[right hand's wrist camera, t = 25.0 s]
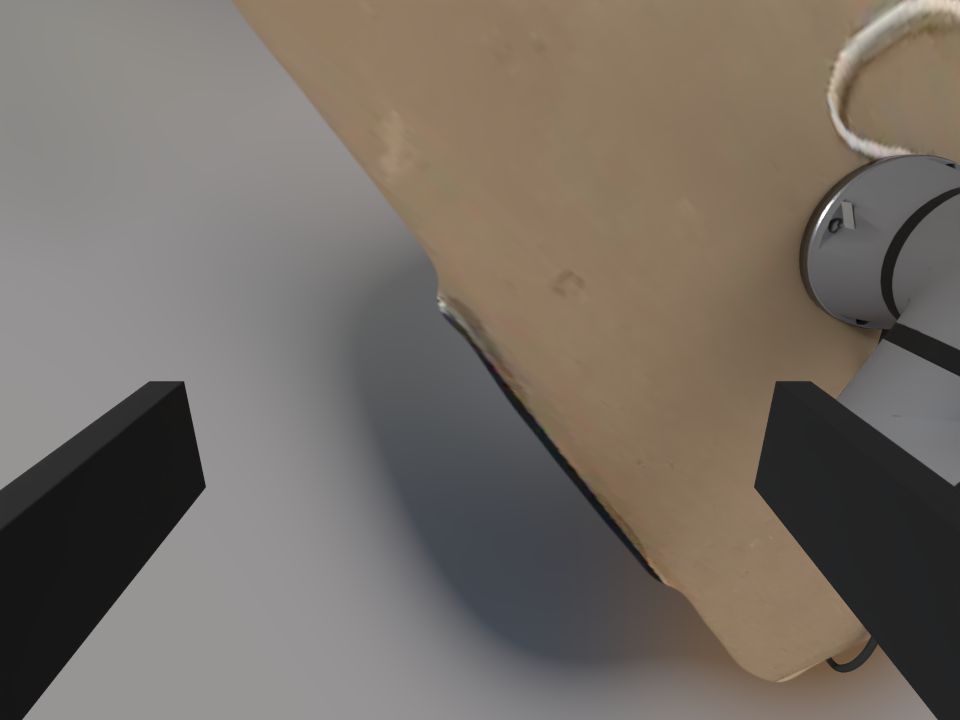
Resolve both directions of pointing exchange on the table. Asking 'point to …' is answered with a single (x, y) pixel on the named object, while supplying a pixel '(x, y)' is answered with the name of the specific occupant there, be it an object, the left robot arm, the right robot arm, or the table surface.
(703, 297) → the table surface
